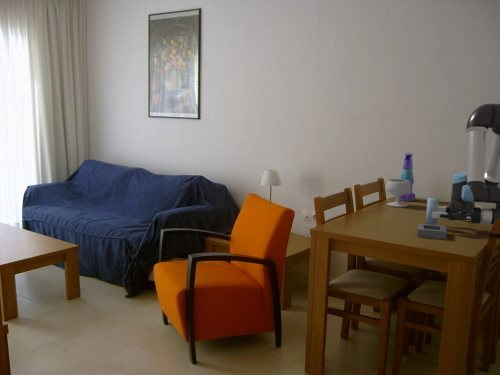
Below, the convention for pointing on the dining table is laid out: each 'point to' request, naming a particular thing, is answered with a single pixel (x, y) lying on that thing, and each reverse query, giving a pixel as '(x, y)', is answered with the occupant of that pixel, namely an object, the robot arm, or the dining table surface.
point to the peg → (431, 210)
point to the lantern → (408, 177)
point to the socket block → (431, 231)
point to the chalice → (398, 190)
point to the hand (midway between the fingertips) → (431, 211)
